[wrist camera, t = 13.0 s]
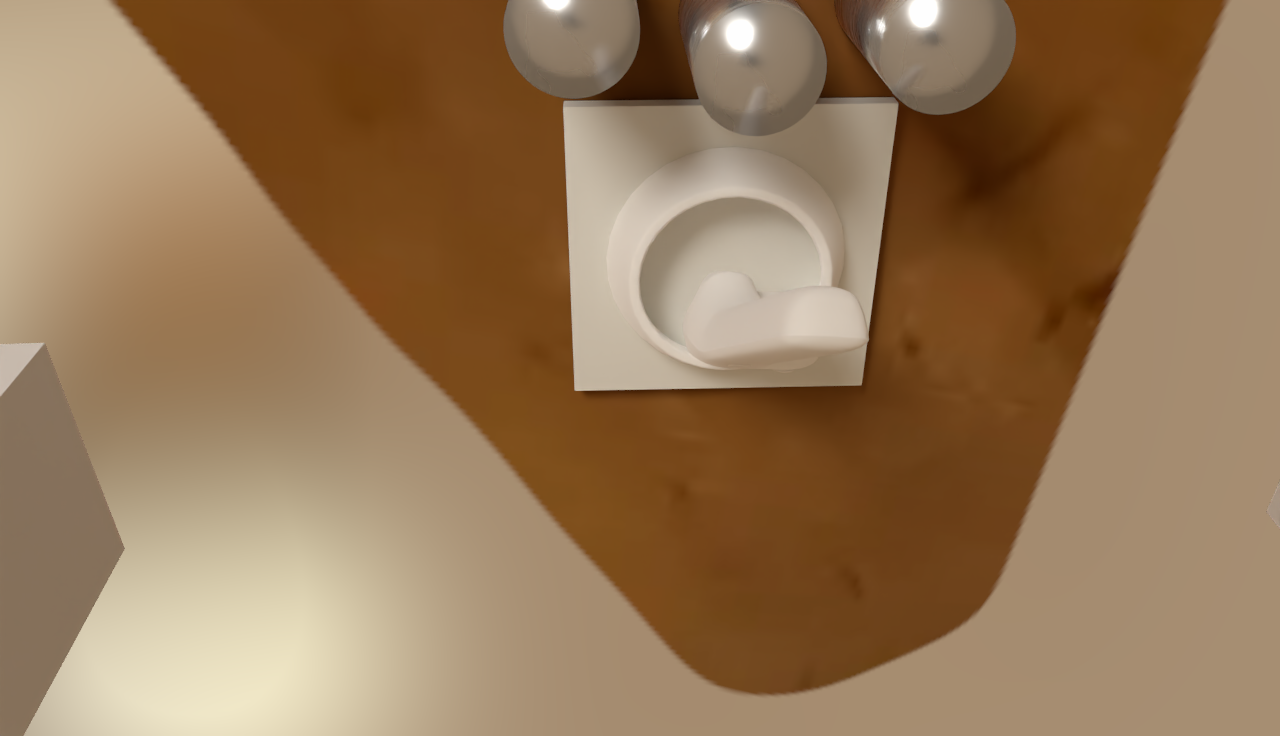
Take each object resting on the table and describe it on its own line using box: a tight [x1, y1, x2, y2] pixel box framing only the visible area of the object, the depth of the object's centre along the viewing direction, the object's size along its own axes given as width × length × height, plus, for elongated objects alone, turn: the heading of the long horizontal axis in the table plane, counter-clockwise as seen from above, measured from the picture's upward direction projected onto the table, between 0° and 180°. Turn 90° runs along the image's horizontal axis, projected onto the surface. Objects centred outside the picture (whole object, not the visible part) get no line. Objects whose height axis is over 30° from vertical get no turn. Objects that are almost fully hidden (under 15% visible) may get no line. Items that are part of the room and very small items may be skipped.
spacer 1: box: [504, 0, 640, 99], centre depth 27 cm, size 3×3×6 cm
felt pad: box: [563, 97, 899, 391], centre depth 34 cm, size 10×10×1 cm
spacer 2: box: [678, 0, 827, 136], centre depth 28 cm, size 3×3×6 cm
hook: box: [607, 147, 869, 373], centre depth 30 cm, size 8×12×7 cm
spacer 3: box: [834, 0, 1016, 115], centre depth 28 cm, size 3×3×6 cm
